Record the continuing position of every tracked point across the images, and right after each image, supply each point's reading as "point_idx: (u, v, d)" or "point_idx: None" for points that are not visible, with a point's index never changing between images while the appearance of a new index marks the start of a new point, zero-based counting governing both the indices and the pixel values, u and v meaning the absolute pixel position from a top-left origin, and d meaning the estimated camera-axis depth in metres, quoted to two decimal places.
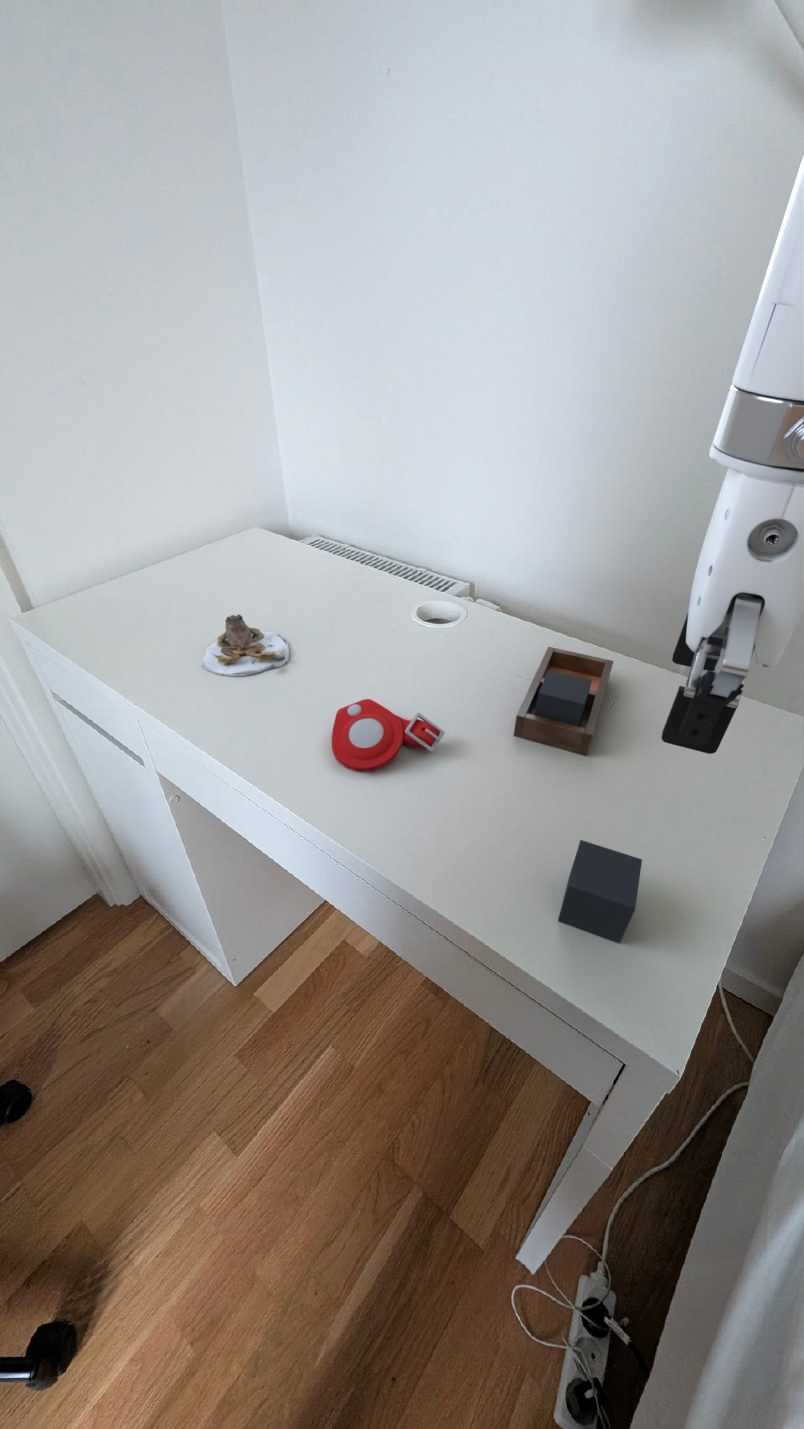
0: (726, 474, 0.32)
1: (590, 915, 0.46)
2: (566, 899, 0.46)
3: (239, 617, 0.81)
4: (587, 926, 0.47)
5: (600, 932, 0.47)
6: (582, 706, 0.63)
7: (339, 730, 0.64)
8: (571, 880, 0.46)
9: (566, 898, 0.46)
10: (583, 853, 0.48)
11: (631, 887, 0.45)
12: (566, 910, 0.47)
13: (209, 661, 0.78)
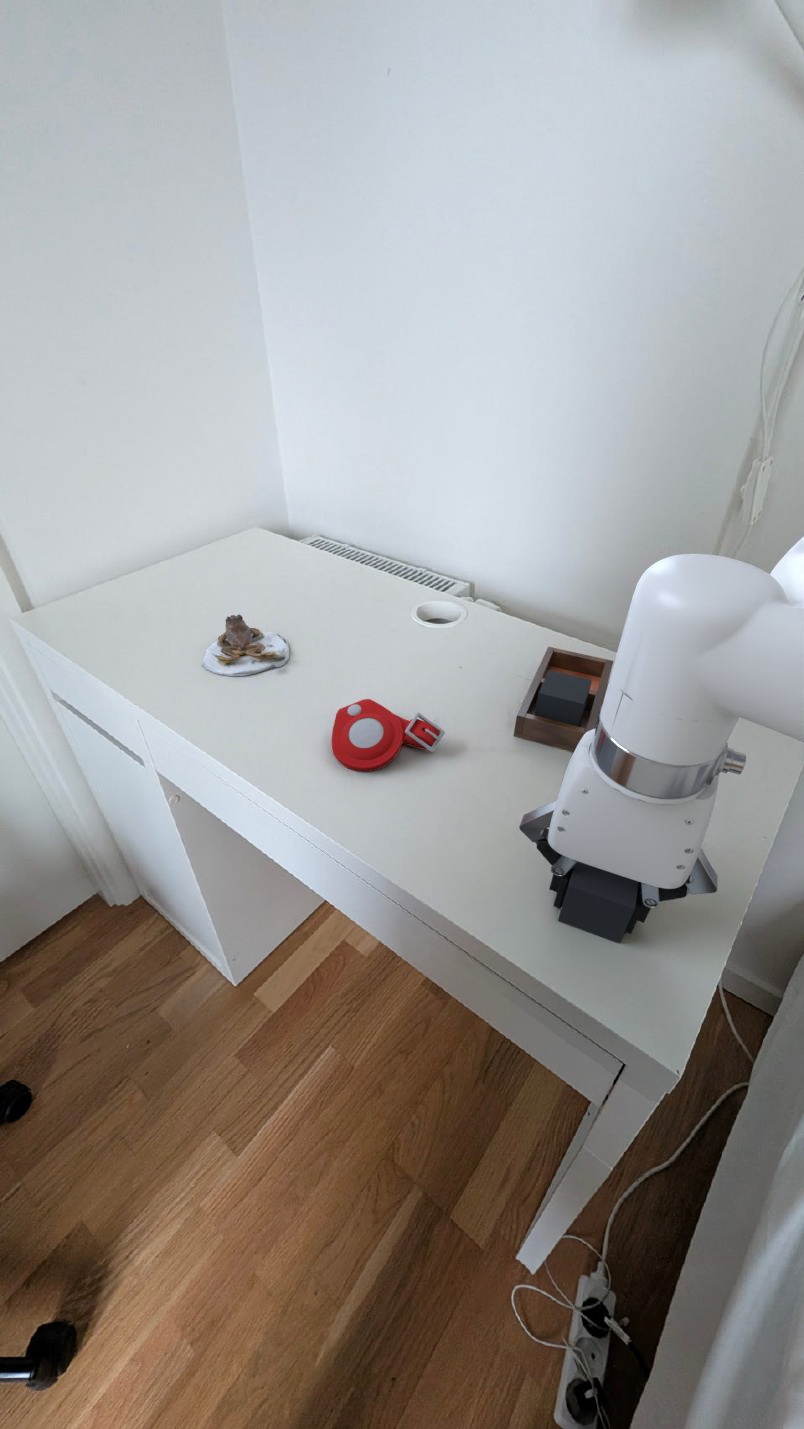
0: (627, 796, 0.38)
1: (590, 915, 0.46)
2: (566, 899, 0.46)
3: (239, 617, 0.81)
4: (587, 926, 0.47)
5: (600, 932, 0.47)
6: (582, 706, 0.63)
7: (339, 730, 0.64)
8: (571, 880, 0.46)
9: (566, 898, 0.46)
10: None
11: (631, 887, 0.45)
12: (566, 910, 0.47)
13: (209, 661, 0.78)
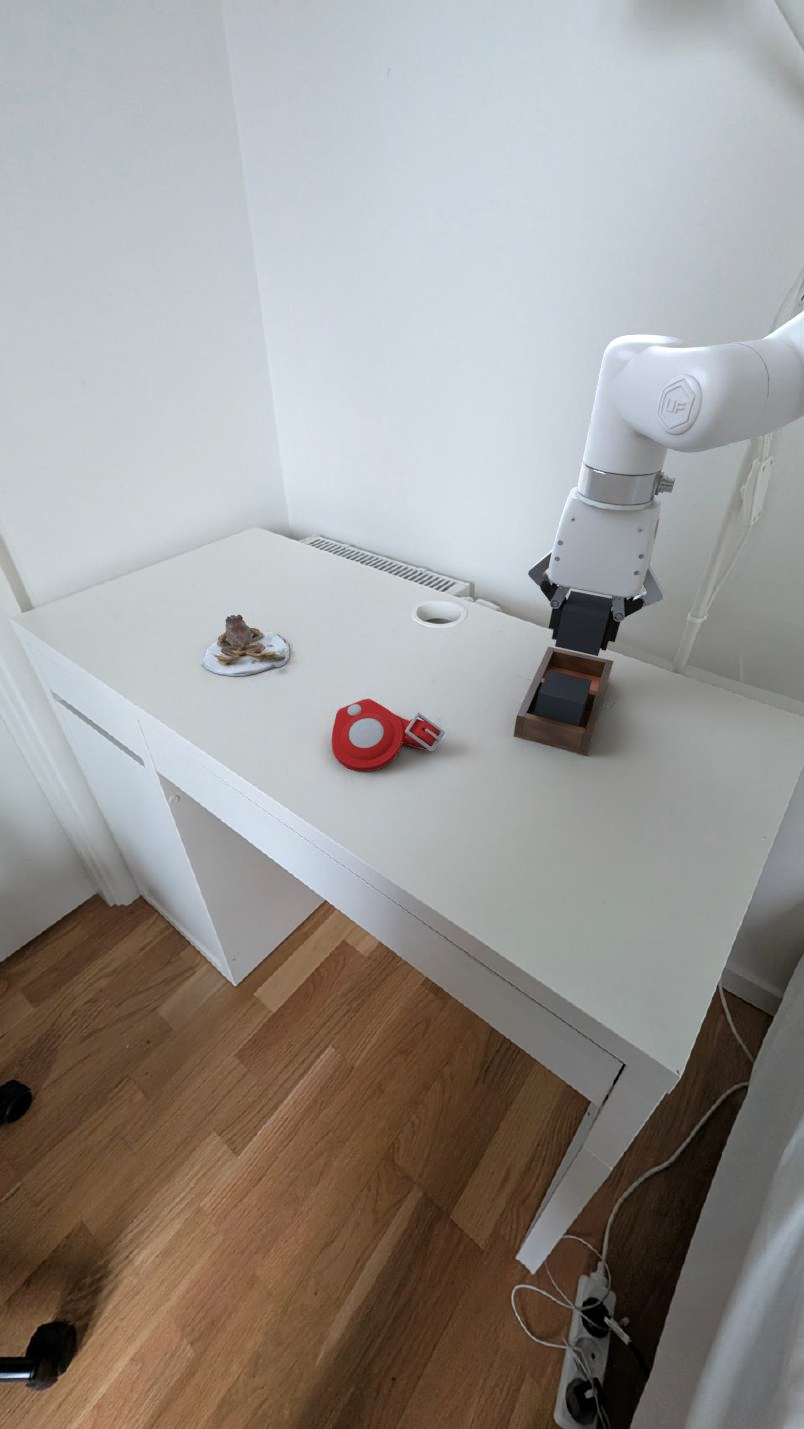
0: (600, 515, 0.58)
1: (577, 634, 0.66)
2: (560, 623, 0.66)
3: (239, 616, 0.81)
4: (575, 645, 0.67)
5: (584, 649, 0.67)
6: (582, 706, 0.63)
7: (339, 730, 0.64)
8: (564, 607, 0.66)
9: (560, 622, 0.66)
10: (573, 596, 0.68)
11: (605, 610, 0.65)
12: (561, 633, 0.67)
13: (209, 661, 0.78)
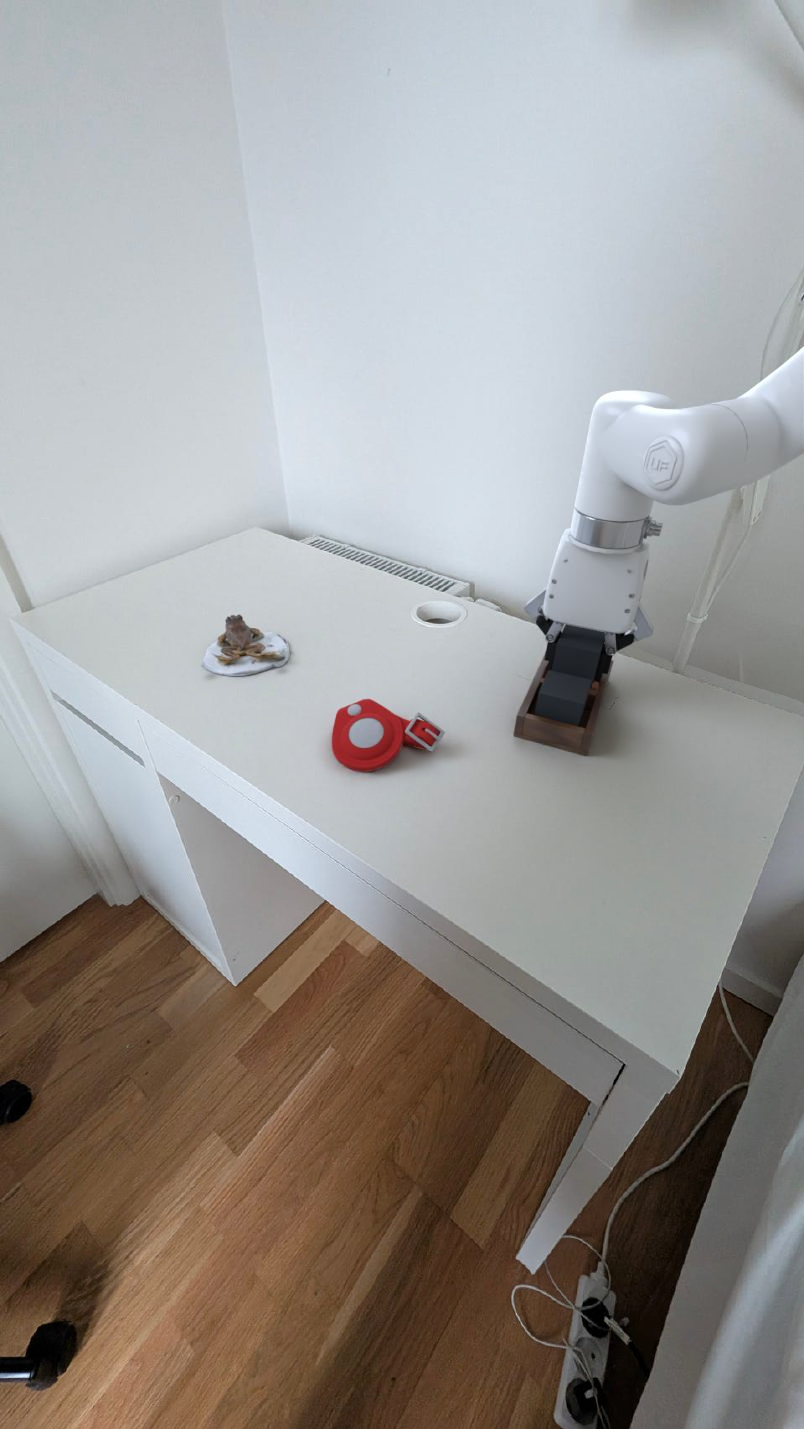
0: (591, 557, 0.60)
1: (571, 667, 0.69)
2: (555, 656, 0.69)
3: (239, 617, 0.81)
4: None
5: None
6: (582, 706, 0.63)
7: (339, 730, 0.64)
8: (558, 641, 0.68)
9: (555, 655, 0.69)
10: (567, 630, 0.70)
11: (598, 644, 0.68)
12: (556, 666, 0.70)
13: (209, 661, 0.78)
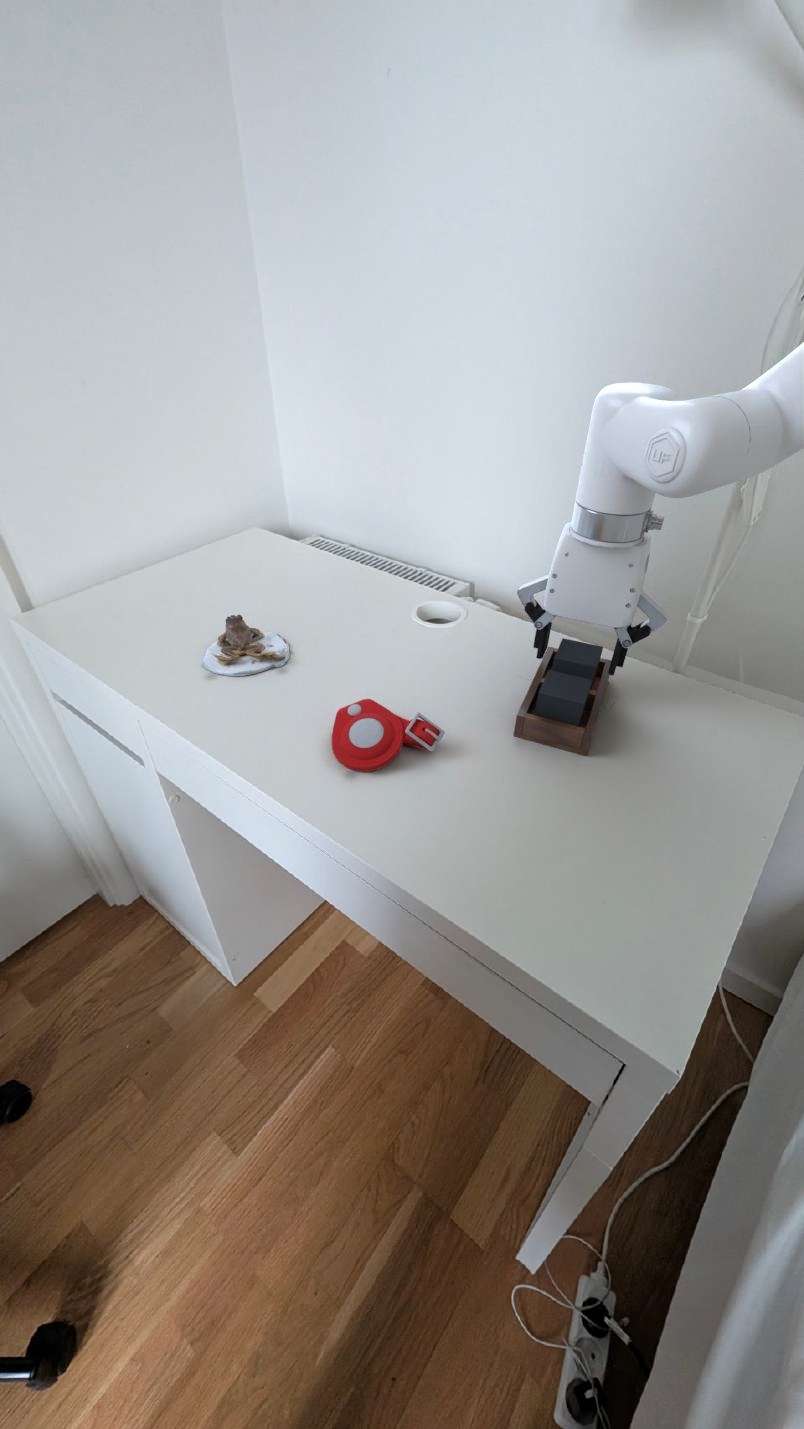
0: (592, 551, 0.60)
1: None
2: (552, 670, 0.70)
3: (239, 617, 0.81)
4: None
5: None
6: (582, 706, 0.63)
7: (339, 730, 0.64)
8: (555, 655, 0.70)
9: (552, 669, 0.70)
10: (564, 644, 0.72)
11: (594, 658, 0.69)
12: None
13: (209, 661, 0.78)
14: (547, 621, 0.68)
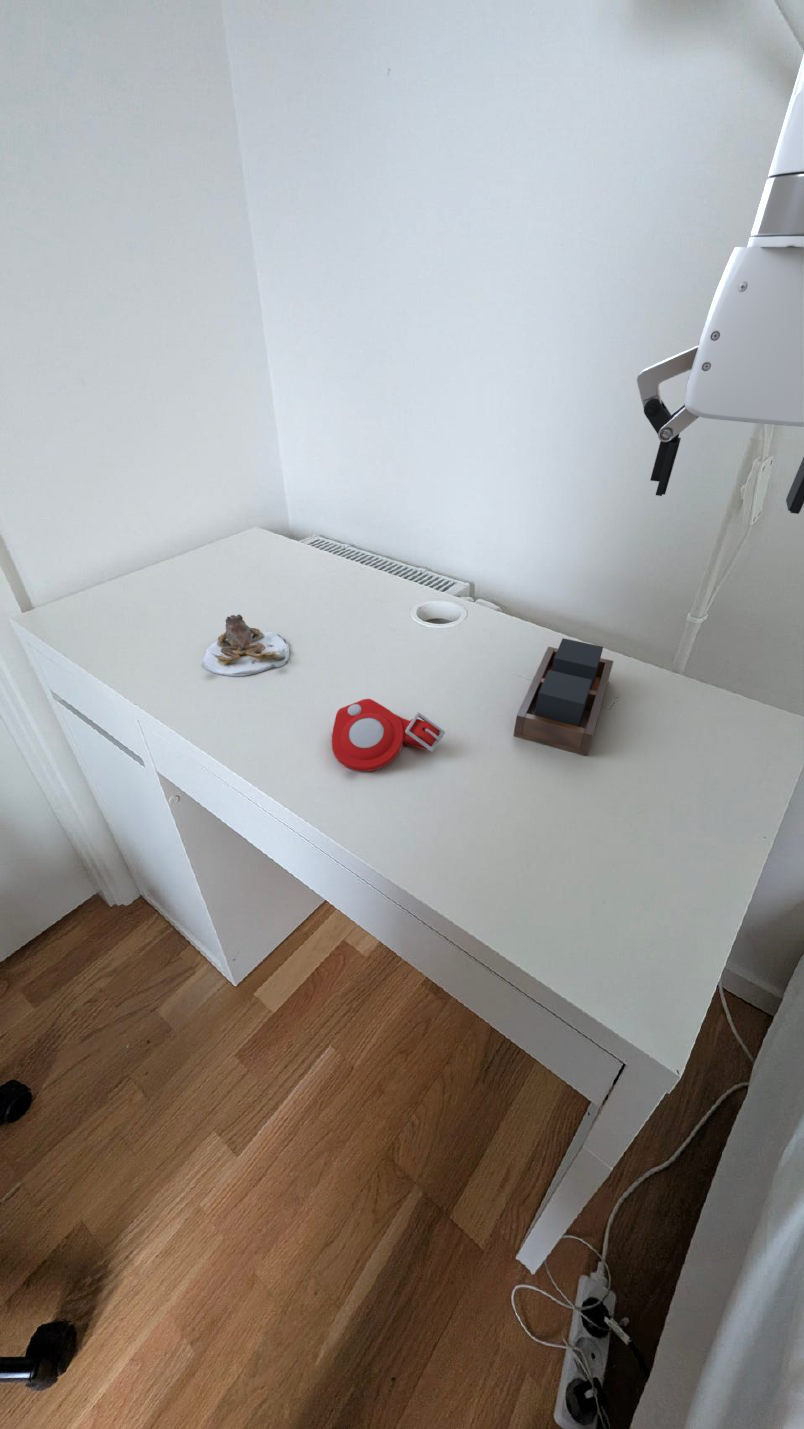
0: (795, 270, 0.36)
1: None
2: (552, 670, 0.70)
3: (239, 617, 0.81)
4: None
5: None
6: (582, 706, 0.63)
7: (339, 730, 0.64)
8: (555, 655, 0.70)
9: (552, 669, 0.70)
10: (564, 644, 0.72)
11: (594, 658, 0.69)
12: None
13: (209, 661, 0.78)
14: (682, 424, 0.43)
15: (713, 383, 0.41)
